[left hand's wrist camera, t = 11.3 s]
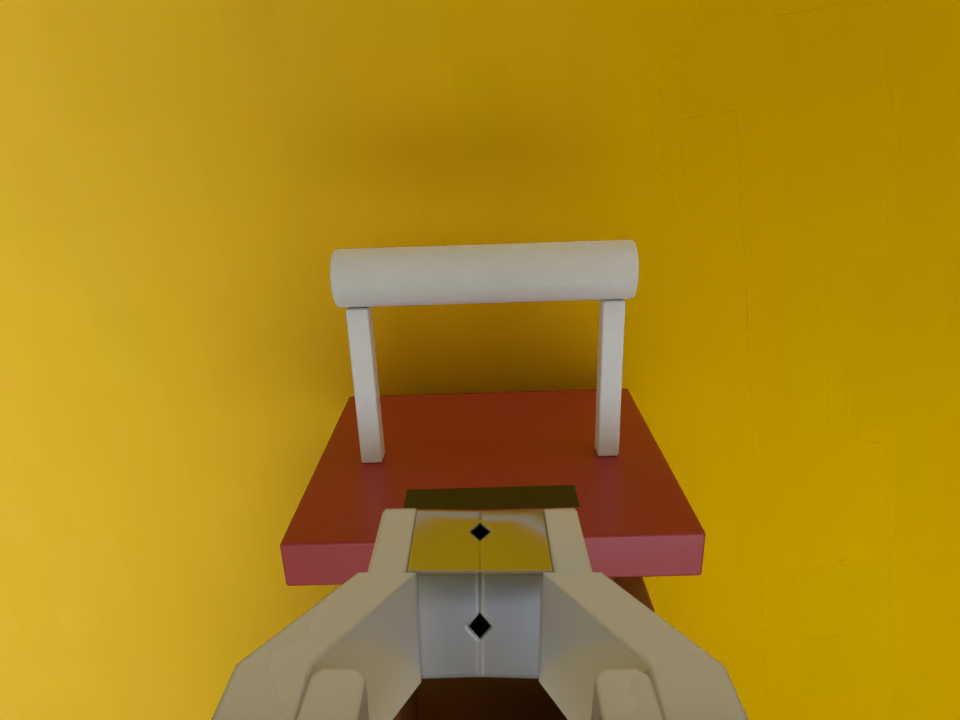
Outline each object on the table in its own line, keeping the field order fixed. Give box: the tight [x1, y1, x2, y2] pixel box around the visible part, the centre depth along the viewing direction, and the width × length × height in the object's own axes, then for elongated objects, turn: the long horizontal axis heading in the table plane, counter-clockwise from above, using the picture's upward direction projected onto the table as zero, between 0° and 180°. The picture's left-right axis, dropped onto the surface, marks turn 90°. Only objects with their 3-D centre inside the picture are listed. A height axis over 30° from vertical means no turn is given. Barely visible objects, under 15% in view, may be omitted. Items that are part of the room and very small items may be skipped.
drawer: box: [280, 240, 705, 720], centre depth 21 cm, size 25×10×9 cm, turn 2°
